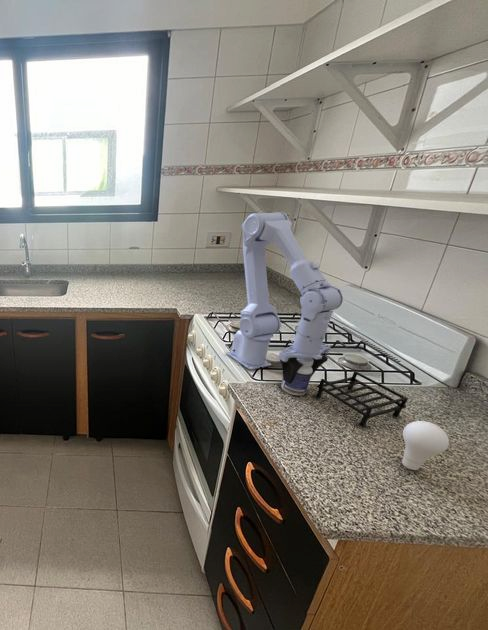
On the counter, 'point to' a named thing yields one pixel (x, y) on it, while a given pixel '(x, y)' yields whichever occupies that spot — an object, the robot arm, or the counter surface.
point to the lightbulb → (422, 443)
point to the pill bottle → (300, 378)
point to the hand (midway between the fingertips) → (296, 379)
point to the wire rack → (350, 389)
